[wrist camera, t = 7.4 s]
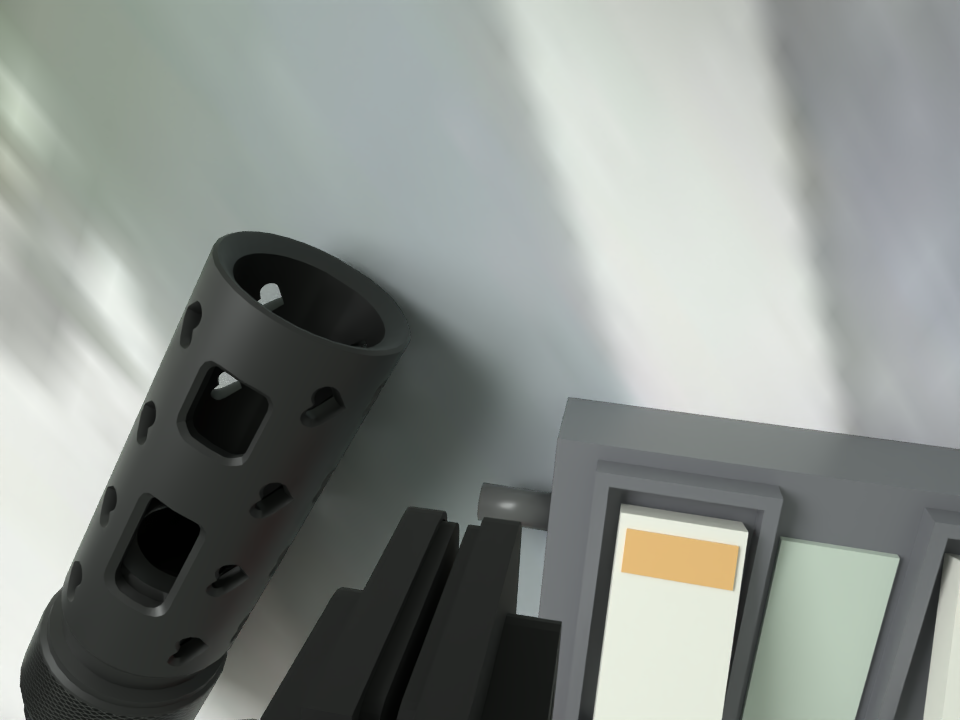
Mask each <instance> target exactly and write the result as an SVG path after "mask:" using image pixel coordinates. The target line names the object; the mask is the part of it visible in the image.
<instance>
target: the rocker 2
mask: <svg viewBox="0 0 960 720" xmlns="http://www.w3.org/2000/svg"><path fill="white" fill-rule="evenodd" d="M923 720H960V555H956V554H949V553H945V554H944V562H943V569H942V577H941V585H940V593H939V601H938V608H937V616H936V624H935V632H934V639H933V647H932V655H931V663H930V671H929V678H928V686H927V694H926V702H925V710H924V717H923Z"/></svg>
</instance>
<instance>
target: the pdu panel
mask: <svg viewBox="0 0 960 720" xmlns="http://www.w3.org/2000/svg"><path fill="white" fill-rule="evenodd" d="M621 503H622V504H629V505H635V506H642V507H648V508H654V509H661V510H667V511H674V512H680V513H687V514H693V515H700V516H706V517H713V518H719V519H726V520H732V521H739V522H742V523H743V524H744V526H745V528H746V529H747V531H748V539H747V546H746V553H745V560H744V567H743V574H742V581H741V588H740V595H739V602H738V609H737V616H736V623H735V630H734V637H733V644H732V651H731V658H730V665H729V672H728V679H727V686H726V693H725V700H724V707H723V714H722V720H923V717H924V710H925V702H926V694H927V686H928V678H929V671H930V663H931V655H932V647H933V639H934V632H935V624H936V616H937V608H938V601H939V593H940V585H941V577H942V569H943V562H944V554H945V553H949V554H956V555H960V450H959V449H952V448H944V447H937V446H929V445H922V444H914V443H907V442H899V441H892V440H884V439H877V438H869V437H862V436H854V435H847V434H839V433H832V432H824V431H817V430H809V429H802V428H794V427H787V426H779V425H772V424H764V423H757V422H749V421H742V420H734V419H727V418H719V417H712V416H704V415H697V414H689V413H682V412H674V411H667V410H659V409H652V408H644V407H637V406H629V405H622V404H614V403H607V402H599V401H592V400H584V399H577V398H569V397H568V401H567V404H566V408H565V412H564V416H563V420H562V423H561V427H560V431H559V435H558V439H557V448H556V457H555V467H554V476H553V485H552V493H547V492H541V491H534V490H528V489H521V488H515V487H508V486H502V485H496V484H489V483H483V485H482V488H481V492H480V496H479V502H478V512H477V517H478V520H483V518H484V517H491V518H498V519H506V520H513V521H520V522H521V523H522V527H525V528H531V529H537V530H543V531H548V532H547V542H546V551H545V560H544V570H543V579H542V588H541V598H540V607H539V616H538V618H543V619H549V620H556V621H562V629H561V641H560V651H559V662H558V672H557V682H556V691H555V700H554V709H553V718H552V720H593V714H594V706H595V699H596V691H597V683H598V676H599V668H600V660H601V653H602V645H603V637H604V630H605V622H606V614H607V607H608V599H609V591H610V584H611V576H612V568H613V561H614V553H615V545H616V538H617V530H618V522H619V515H620V507H621Z"/></svg>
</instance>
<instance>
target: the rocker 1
mask: <svg viewBox="0 0 960 720" xmlns="http://www.w3.org/2000/svg"><path fill="white" fill-rule="evenodd" d="M747 539H748V531H747V529H746V528H745V526H744V524H743V523H742V522H739V521H732V520H726V519H719V518H713V517H706V516H700V515H693V514H687V513H680V512H674V511H667V510H661V509H654V508H648V507H642V506H635V505H629V504H622V503H621V507H620V515H619V522H618V530H617V538H616V545H615V553H614V561H613V568H612V576H611V584H610V591H609V599H608V607H607V614H606V622H605V630H604V637H603V645H602V653H601V660H600V668H599V676H598V683H597V691H596V699H595V706H594V714H593V720H722V714H723V707H724V700H725V693H726V686H727V679H728V672H729V665H730V658H731V651H732V644H733V637H734V630H735V623H736V616H737V609H738V602H739V595H740V588H741V581H742V574H743V567H744V560H745V553H746V546H747Z"/></svg>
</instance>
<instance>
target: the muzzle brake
mask: <svg viewBox="0 0 960 720" xmlns="http://www.w3.org/2000/svg"><path fill="white" fill-rule="evenodd" d="M269 283H275V284H277V285H278V287H279V290H280V293H281V296H282V297H281V298H278V299H275V300H273V301H271V302H269V303H266V304H264V305H262V304H260V303H259V302H257V301H258V300H260V299H261V297H260V290H261V288H262V287H263V286H264V285H266V284H269ZM409 342H410V329H409V326H408V322H407V320H406V318H405V316H404V314H403V313H402V311H401V309H400V308H399V307H398V306H397V304H396V303H395V302H394V301H393V299H392V298H391V297H390V296H389V295H388V294H387V293H386V292H385V291H384V290H382V289H381V288H380V287H379V286H378V285H376V284H375V283H374V282H373V281H372V280H370V279H369V278H367V277H366V276H364V275H363V274H361V273H360V272H358V271H356V270H355V269H353V268H352V267H350V266H349V265H347V264H345V263H344V262H342V261H341V260H339V259H338V258H336V257H334V256H332V255H330V254H328V253H326V252H324V251H322V250H320V249H317V248H315V247H312V246H310V245H308V244H305V243H302V242H299V241H296V240H293V239H290V238H287V237H283V236H279V235H275V234H271V233H263V232H252V231H242V232H236V233H231V234H227V235H225V236H223V237H221V238H219V239H218V240H217V242H216V243H215V244H214V245H213V248H212V250H211V252H210V254H209V257H208V259H207V261H206V263H205V266H204V268H203V270H202V272H201V275H200V277H199V279H198V281H197V284H196V286H195V288H194V290H193V293H192V295H191V297H190V299H189V302H188V304H187V306H186V308H185V311H184V313H183V315H182V317H181V320H180V322H179V324H178V326H177V329H176V331H175V333H174V335H173V338H172V340H171V342H170V344H169V347H168V349H167V351H166V353H165V356H164V358H163V360H162V362H161V365H160V367H159V369H158V371H157V374H156V376H155V378H154V380H153V383H152V385H151V387H150V389H149V392H148V394H147V396H146V398H145V401H144V403H143V405H142V407H141V409H140V412H139V414H138V416H137V418H136V421H135V423H134V425H133V427H132V430H131V432H130V434H129V436H128V439H127V441H126V443H125V445H124V448H123V450H122V452H121V454H120V457H119V459H118V461H117V463H116V466H115V468H114V470H113V472H112V475H111V477H110V479H109V481H108V484H107V486H106V488H105V490H104V493H103V495H102V497H101V499H100V502H99V504H98V506H97V508H96V511H95V513H94V515H93V517H92V520H91V522H90V524H89V526H88V529H87V531H86V533H85V535H84V538H83V540H82V542H81V544H80V547H79V549H78V551H77V553H76V556H75V558H74V560H73V562H72V565H71V567H70V569H69V571H68V574H67V576H66V578H65V582H64V585H63V587H62V588H61V589H60V590H59V591H58V592H57V593H56V594H55V595H54V596H53V598H52V599H51V601H50V602H49V604H48V606H47V607H46V609H45V611H44V612H43V615H42V617H41V619H40V622H39V624H38V626H37V628H36V631H35V633H34V635H33V637H32V640H31V642H30V644H29V647H28V649H27V651H26V653H25V657H24V660H23V663H22V666H21V675H20V688H21V693H22V698H23V703H24V713H25V718H26V720H194V719H195V717H196V715H197V714H198V712H199V710H200V708H201V707H202V705H203V703H204V702H205V700H206V698H207V697H208V695H209V693H210V692H211V690H212V688H213V686H214V685H215V683H216V681H217V680H218V678H219V676H220V674H221V673H222V671H223V667H224V664H225V661H226V657H227V650H228V649H229V648H230V647H231V645H232V643H233V642H234V640H235V638H236V637H237V635H238V633H239V632H240V630H241V628H242V627H243V625H244V623H245V621H246V620H247V618H248V616H249V614H250V612H251V611H252V610H253V608H254V606H255V604H256V603H257V601H258V599H259V598H260V596H261V594H262V592H263V591H264V589H265V587H266V586H267V584H268V582H269V581H270V579H271V577H272V575H273V574H274V572H275V570H276V569H277V567H278V565H279V563H280V562H281V560H282V558H283V557H284V555H285V553H286V552H287V549H288V547H289V545H291V543H292V541H293V540H294V538H295V536H296V534H297V533H298V531H299V529H300V528H301V526H302V524H303V523H304V521H305V519H306V517H307V516H308V514H309V512H310V511H311V509H312V507H313V505H314V504H315V502H316V500H317V499H318V497H319V495H320V494H321V492H322V490H323V488H324V487H325V485H326V483H327V482H328V480H329V478H330V476H331V474H332V472H333V471H334V470H335V468H336V466H337V465H338V463H339V461H340V459H341V458H342V456H343V454H344V453H345V451H346V449H347V447H348V446H349V444H350V442H351V441H352V439H353V437H354V436H355V434H356V432H357V430H358V429H359V427H360V425H361V424H362V422H363V420H364V418H365V417H366V415H367V413H368V412H369V410H370V408H371V407H372V405H373V403H374V401H375V400H376V398H377V396H378V395H379V393H380V390H381V388H382V387H383V386H384V384H385V383H386V381H387V379H388V378H389V376H390V374H391V372H392V371H393V369H394V367H395V366H396V364H397V362H398V361H399V359H400V357H401V355H402V354H403V352H404V350H405V349H406V347H407V345H408V343H409ZM364 344H367V348H362V345H364ZM223 372H226V373H228V374H229V375H231V376H232V377H234V378H235V379H236V380H238V381H237V382H234V383H232V384H230V385H228V386H225V387H223V388H220V389H214V388H215V387H217V386H218V385H219V375H220V374H221V373H223Z"/></svg>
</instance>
